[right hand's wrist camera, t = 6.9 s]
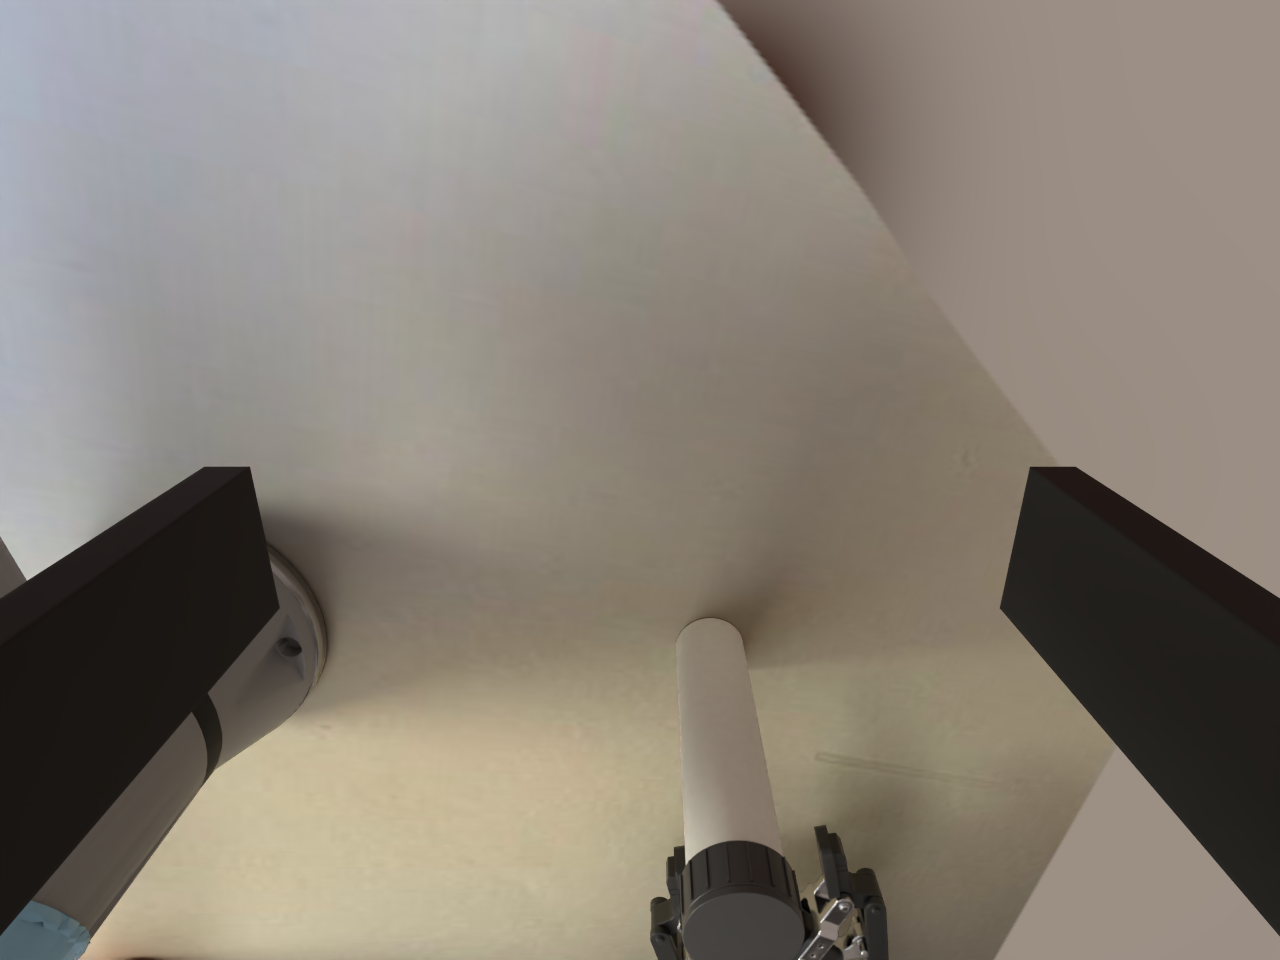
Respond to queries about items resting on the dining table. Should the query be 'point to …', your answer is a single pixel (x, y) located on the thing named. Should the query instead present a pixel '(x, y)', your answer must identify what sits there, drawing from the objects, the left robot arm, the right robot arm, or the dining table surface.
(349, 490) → the dining table surface
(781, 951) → the lid
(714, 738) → the bottle
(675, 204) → the dining table surface
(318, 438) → the dining table surface
